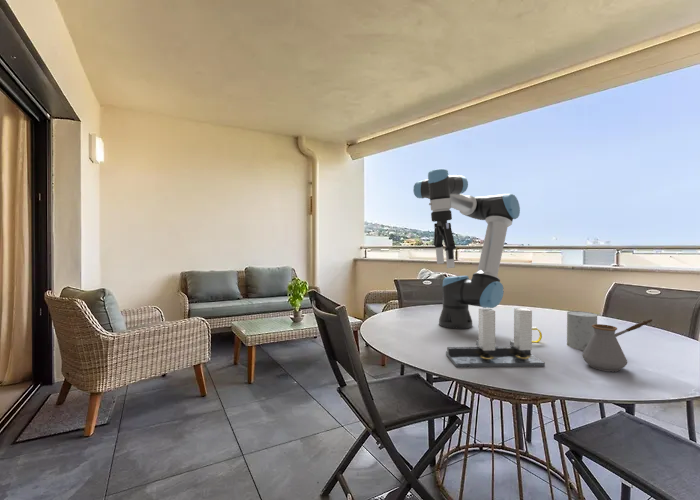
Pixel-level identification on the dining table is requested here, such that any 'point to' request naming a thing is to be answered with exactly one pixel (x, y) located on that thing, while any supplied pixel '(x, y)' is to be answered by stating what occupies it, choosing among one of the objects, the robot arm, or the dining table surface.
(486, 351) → the block
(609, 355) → the coffee pot
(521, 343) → the fixed leg
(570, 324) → the grey concrete cylinder
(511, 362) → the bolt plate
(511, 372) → the dining table surface
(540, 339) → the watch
